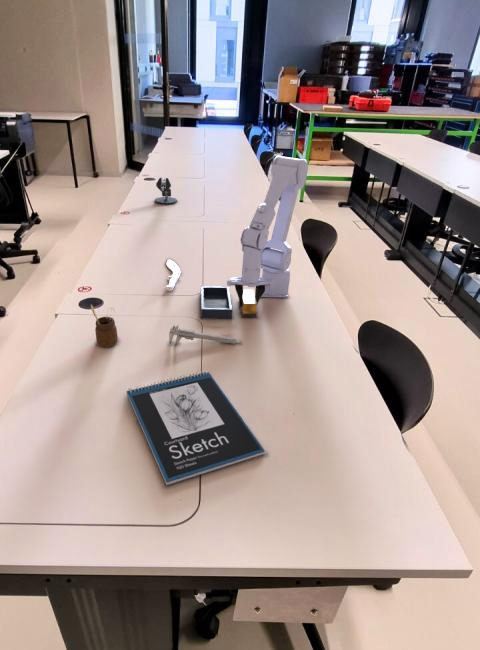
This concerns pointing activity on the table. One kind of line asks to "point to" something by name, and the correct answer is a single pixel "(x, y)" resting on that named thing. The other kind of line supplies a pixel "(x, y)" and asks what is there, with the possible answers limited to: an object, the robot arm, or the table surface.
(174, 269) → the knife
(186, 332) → the caliper
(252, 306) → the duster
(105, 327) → the utensil holder
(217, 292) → the case
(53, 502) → the table surface
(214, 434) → the sketchbook
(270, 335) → the table surface
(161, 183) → the dark grey upright piece
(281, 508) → the table surface
